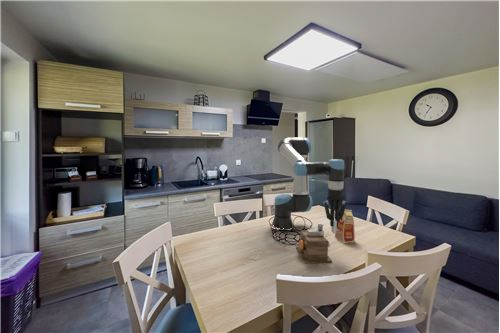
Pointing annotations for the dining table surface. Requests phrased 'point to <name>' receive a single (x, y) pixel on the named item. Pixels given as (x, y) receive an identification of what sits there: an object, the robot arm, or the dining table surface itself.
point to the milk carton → (346, 228)
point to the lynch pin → (302, 244)
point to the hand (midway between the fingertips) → (333, 232)
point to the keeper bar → (316, 231)
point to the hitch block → (314, 249)
